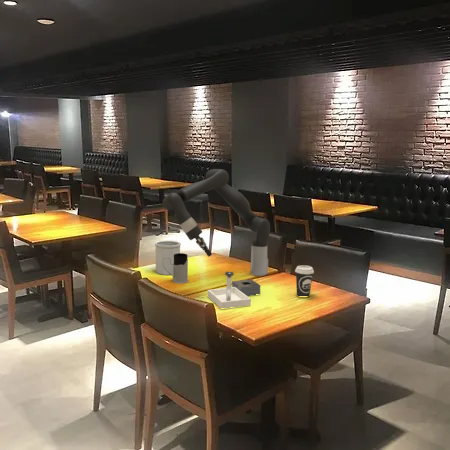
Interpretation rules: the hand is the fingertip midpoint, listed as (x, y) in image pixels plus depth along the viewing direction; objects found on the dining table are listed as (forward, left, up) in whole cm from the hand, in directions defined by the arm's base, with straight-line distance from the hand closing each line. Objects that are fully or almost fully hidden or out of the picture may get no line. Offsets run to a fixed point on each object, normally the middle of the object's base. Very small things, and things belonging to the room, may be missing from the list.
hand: (210, 255), depth 248 cm
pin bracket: (-20, +1, -22) cm, 29 cm away
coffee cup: (-46, +15, -22) cm, 53 cm away
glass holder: (+9, -29, -22) cm, 38 cm away
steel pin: (-6, +10, -21) cm, 24 cm away
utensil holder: (+8, -48, -22) cm, 54 cm away
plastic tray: (-7, +10, -22) cm, 24 cm away
